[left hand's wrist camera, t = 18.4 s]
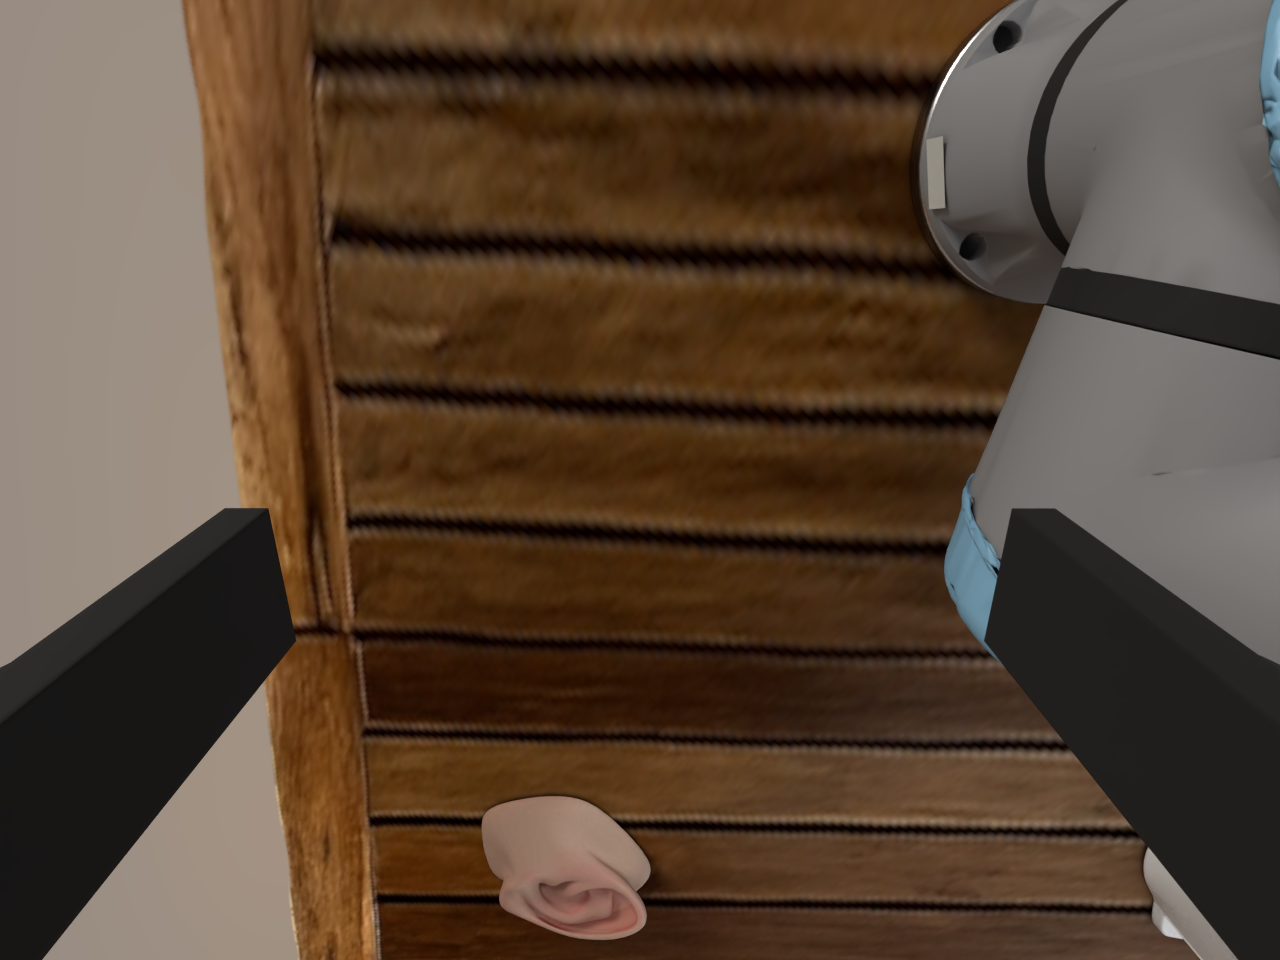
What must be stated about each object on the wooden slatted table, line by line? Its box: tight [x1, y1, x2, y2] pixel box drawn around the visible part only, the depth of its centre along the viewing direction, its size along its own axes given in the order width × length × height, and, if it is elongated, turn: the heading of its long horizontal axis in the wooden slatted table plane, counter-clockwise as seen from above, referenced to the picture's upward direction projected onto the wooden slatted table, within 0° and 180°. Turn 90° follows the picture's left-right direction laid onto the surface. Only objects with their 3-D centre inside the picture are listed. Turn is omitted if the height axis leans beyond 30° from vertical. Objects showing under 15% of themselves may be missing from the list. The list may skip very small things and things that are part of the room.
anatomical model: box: [482, 796, 651, 940], centre depth 53 cm, size 13×4×12 cm
